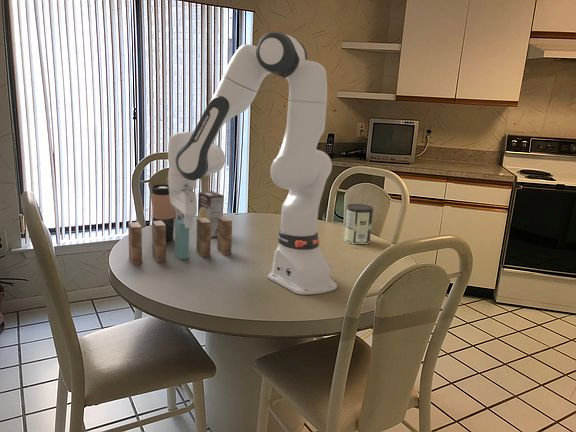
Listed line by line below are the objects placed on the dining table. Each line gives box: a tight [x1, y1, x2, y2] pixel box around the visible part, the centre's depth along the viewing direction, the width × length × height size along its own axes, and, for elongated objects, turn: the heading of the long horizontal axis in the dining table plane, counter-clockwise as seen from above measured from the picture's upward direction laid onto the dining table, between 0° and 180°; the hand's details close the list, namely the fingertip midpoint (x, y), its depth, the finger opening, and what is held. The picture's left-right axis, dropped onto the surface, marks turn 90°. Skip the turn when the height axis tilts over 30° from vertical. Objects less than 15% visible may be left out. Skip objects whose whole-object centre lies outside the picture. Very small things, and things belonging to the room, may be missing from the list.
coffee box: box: [197, 190, 224, 238], centre depth 186 cm, size 9×6×16 cm
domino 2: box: [174, 218, 190, 260], centre depth 158 cm, size 3×6×12 cm, turn 27°
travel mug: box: [151, 184, 175, 243], centre depth 174 cm, size 8×8×20 cm
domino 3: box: [196, 217, 212, 258], centre depth 162 cm, size 3×6×12 cm, turn 27°
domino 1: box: [151, 220, 167, 262], centre depth 155 cm, size 3×6×12 cm, turn 27°
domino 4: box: [216, 215, 233, 256], centre depth 165 cm, size 3×6×12 cm, turn 27°
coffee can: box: [343, 203, 374, 245], centre depth 187 cm, size 10×10×14 cm
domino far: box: [127, 221, 143, 265], centre depth 152 cm, size 3×6×12 cm, turn 27°
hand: (183, 223), depth 157 cm, fingers open, 8 cm apart
